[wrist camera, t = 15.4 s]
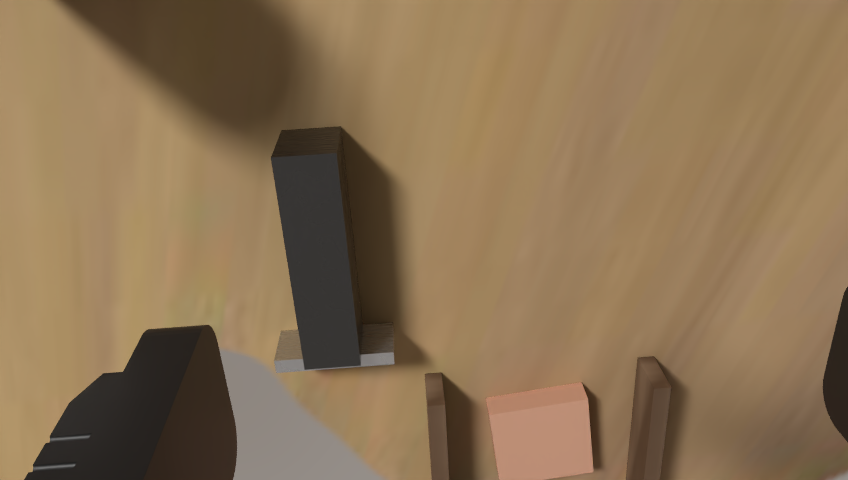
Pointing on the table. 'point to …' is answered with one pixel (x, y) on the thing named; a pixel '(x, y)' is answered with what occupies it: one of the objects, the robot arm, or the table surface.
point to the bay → (643, 435)
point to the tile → (541, 433)
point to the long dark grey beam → (322, 258)
